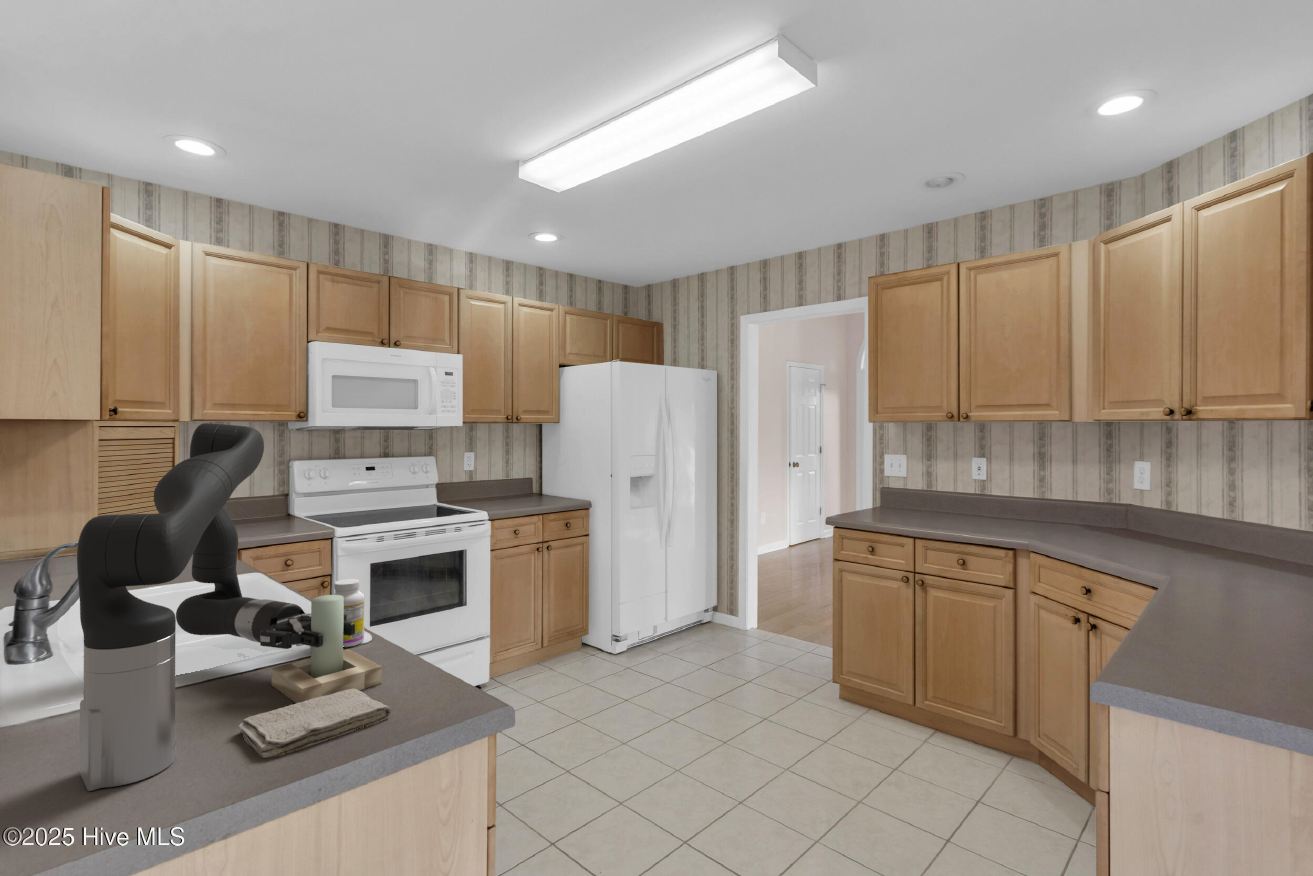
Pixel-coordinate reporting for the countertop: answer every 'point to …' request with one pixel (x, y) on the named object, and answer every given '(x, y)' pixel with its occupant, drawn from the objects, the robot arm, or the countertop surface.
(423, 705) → the countertop surface
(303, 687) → the pocket block
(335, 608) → the green cylinder
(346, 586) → the supplement bottle
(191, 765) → the countertop surface
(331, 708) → the washcloth
